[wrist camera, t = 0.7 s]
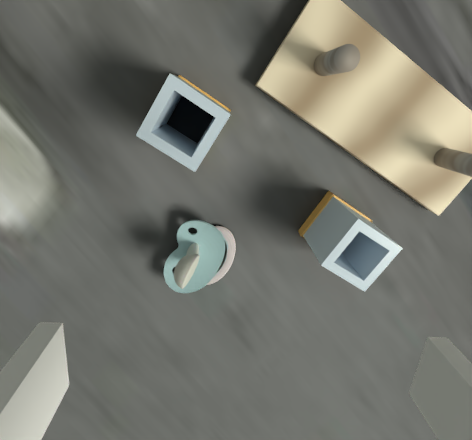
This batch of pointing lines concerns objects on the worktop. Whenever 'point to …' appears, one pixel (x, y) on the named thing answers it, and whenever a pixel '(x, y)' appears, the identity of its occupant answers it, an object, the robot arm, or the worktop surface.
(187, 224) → the pacifier
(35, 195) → the worktop surface
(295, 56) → the pin board
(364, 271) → the sleeve
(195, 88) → the sleeve
